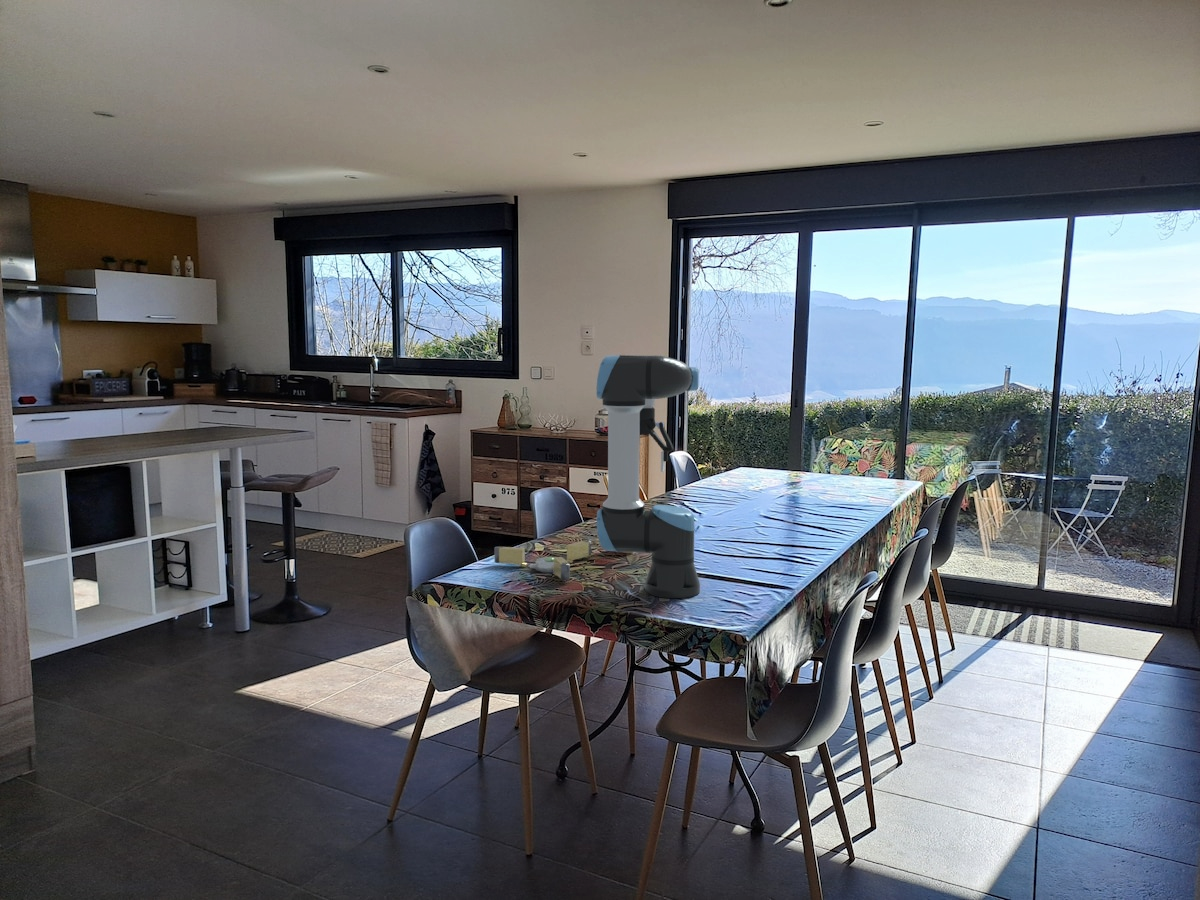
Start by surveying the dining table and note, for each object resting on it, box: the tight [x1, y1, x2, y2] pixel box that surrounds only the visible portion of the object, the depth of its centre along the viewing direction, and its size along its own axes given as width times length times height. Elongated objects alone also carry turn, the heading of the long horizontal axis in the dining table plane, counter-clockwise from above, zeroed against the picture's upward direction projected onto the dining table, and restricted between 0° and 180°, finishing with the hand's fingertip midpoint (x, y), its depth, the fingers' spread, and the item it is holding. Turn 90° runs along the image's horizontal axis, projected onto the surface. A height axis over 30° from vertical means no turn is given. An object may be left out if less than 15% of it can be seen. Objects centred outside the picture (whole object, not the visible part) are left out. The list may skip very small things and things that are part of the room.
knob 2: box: [566, 539, 592, 564], centre depth 252 cm, size 10×3×6 cm, turn 138°
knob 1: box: [553, 556, 571, 581], centre depth 231 cm, size 10×3×6 cm, turn 18°
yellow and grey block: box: [494, 546, 528, 568], centre depth 245 cm, size 10×3×6 cm, turn 78°
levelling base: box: [529, 556, 555, 575], centre depth 243 cm, size 12×11×3 cm
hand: (642, 470), depth 267 cm, fingers open, 13 cm apart
